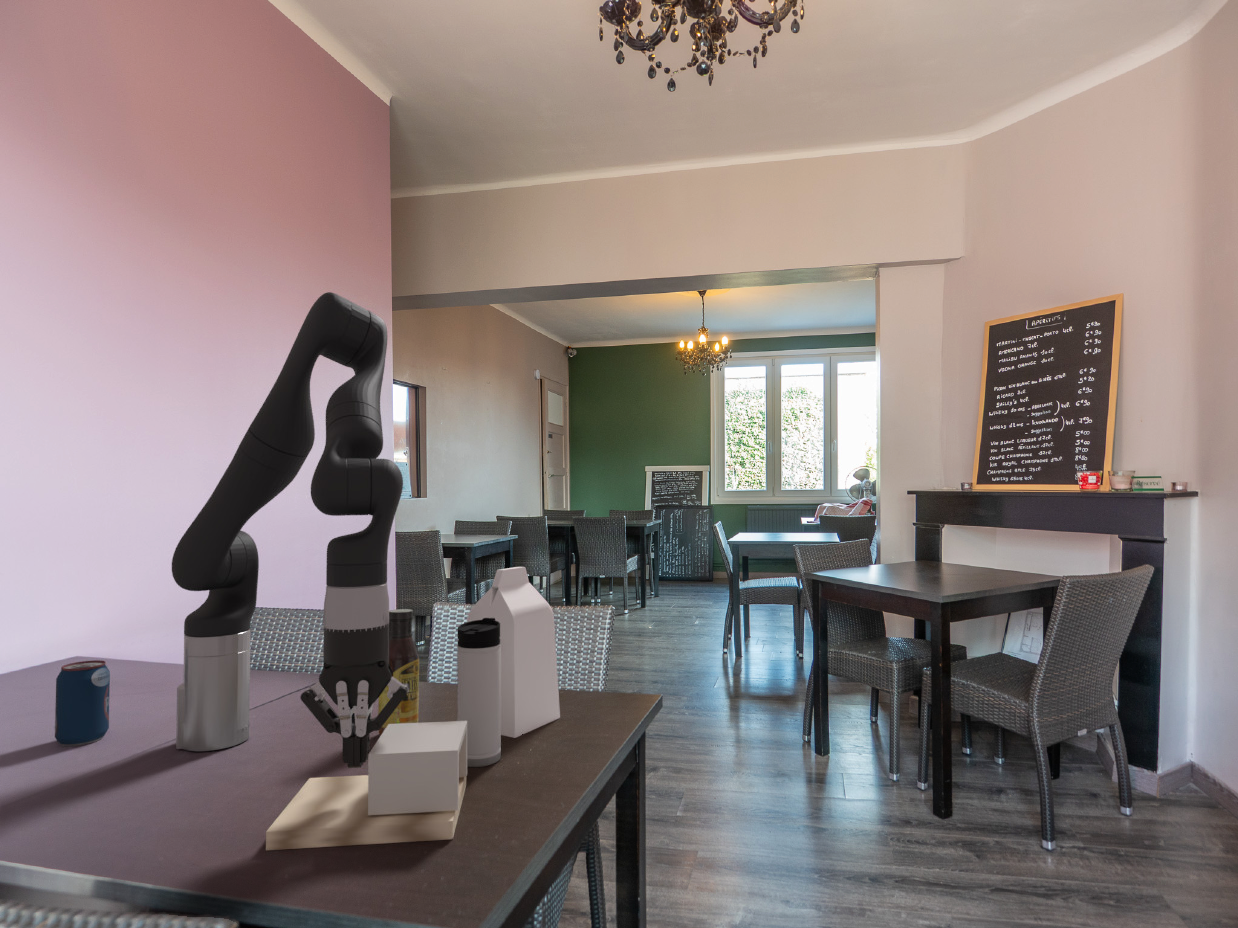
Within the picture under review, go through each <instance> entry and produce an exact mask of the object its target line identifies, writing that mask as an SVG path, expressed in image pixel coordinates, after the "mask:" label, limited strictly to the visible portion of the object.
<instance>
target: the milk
mask: <svg viewBox="0 0 1238 928" xmlns="http://www.w3.org/2000/svg"><path fill="white" fill-rule="evenodd" d="M483 618H495V621H498V622H499V623H500V637H499V638H500V643H501V646H500V648H501V736H504V737H509V738H514V739H515V738H518V737H520V736H523V735H525V734H527V733H529V732H532V731H533V730H536V729H538V728H540V727H542V726H545V725H548V724H549V723H552V722H554V721H556V720H558V719H560V718H561V710H560V695H559V694H560V693H559V676H558V663H557V645H556V631H555V616H554V611H553V608H552V607H551V604H549V603H548V601H547V600H546V599H545V597H543V595H542V594H541V593H540V592H539V591H538V590H537V589H536V588H535V586H533V584H532V583H531V582H530V581H529V577H528V572H527V568H526V567H525V566H514V567H509V568H508V567H507V568H501V569H496V571H495V575H494V579H493V582H492V585H491V587H490V588H489V589H488V590H487V591H486V592H485V594H484V595H482V597H481V598H480V599H479V600H478V601H477V602H475V604H474V605H473V606H472V608H471V609H470V610H469V612H468V614H467V619H466V622H470V621H475V620H482V619H483ZM522 734H523V735H522Z"/></svg>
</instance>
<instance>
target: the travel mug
mask: <svg viewBox="0 0 1238 928" xmlns="http://www.w3.org/2000/svg"><path fill="white" fill-rule="evenodd" d="M499 637H500V623H499V622H498V621H495V618H483V619H482V620H475V621H470V622H467V621H466V622H464V623H461V624H460V625H459V626H458V627H457V639H458V640H457V645H456V646H457V647H456V648H457V651H456V652H457V653H456V654H457V655H456V657H457V658H456V661H457V662H456V663H457V664H456V665H457V666H456V667H457V670H456V674H457V675H456V676H457V677H456V679H457V681H456V683H457V684H456V685H457V686H456V691H457V693H456V697H457V698H456V699H457V700H456V702H457V703H456V705H457V706H456V710H457V711H456V712H457V713H456V714H457V715H456V721H467V768H468V767H469V768H481V767H487V766H490V765H493V764H495V763H497V762H499V760H501V758H502V755H501V754H502V752H501V751H502V749H501V746H502V742H501V739H502V737H501V736H502V735H501V648H500V646H501V643H500V638H499Z"/></svg>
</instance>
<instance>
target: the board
mask: <svg viewBox="0 0 1238 928" xmlns="http://www.w3.org/2000/svg"><path fill="white" fill-rule="evenodd" d="M466 787H467V776H466V777H459V807H458V810H454V811H437V812H419V813H401V814H383V815H368V774H365V775H364V774H363V775H345V776H342V775H341V776H326V777H325V776H324V777H321V776H320V777H309V778H308V779H307V781H306V782H305V783H304V784H303V786H302V787H301V788H300V789H299V791H298V792H297V793H296V794H295V795H294V797H293V798H292V799H291V801H289V803H288V804H287V806H286V807H285V808H284V809H283V810H282V811H281V813H280V814H279V815H278V817H277V818H276V819H275V820H274V821H273V823H272V824H271V825H270V826H269V827H268V829H267V830H266V832H265V851H277V850H278V851H279V850H291V849H293V850H295V849H296V850H297V849H311V848H313V849H314V848H325V847H326V848H327V847H329V848H331V847H343V846H344V847H345V846H358V845H359V846H362V845H376V844H377V845H378V844H393V843H395V844H396V843H397V844H398V843H411V842H413V843H414V842H425V841H427V842H428V841H429V842H430V841H443V840H453V839H454V837H455V836H454V835H455V832H456V831H455V830H456V827H457V823H458V820H459V815H460V811H461V807H462V805H463V800H464V796H465V792H466V789H467V788H466Z"/></svg>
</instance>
